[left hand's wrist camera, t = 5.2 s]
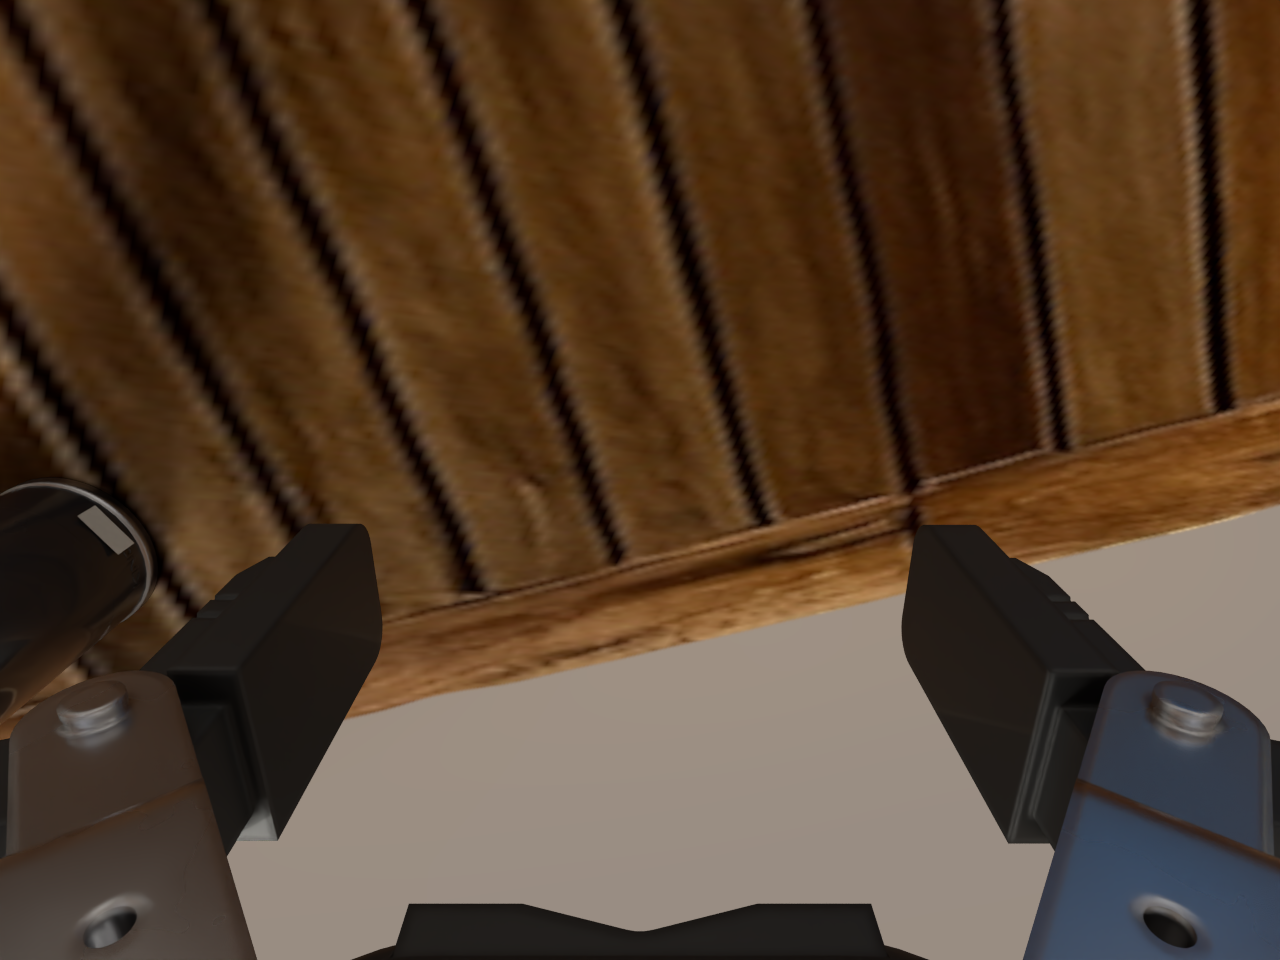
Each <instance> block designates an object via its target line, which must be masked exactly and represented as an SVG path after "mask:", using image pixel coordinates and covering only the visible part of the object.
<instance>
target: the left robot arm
mask: <svg viewBox="0 0 1280 960" xmlns="http://www.w3.org/2000/svg"><path fill="white" fill-rule="evenodd" d="M157 576H158V562H157V556H156V552H155V549H154V546H153V543H152V541H151V539H150V537H149V535H148V533H147V532H146V530H145V528H144V527H143V526H142V524H141V523H140V522H139V520H138V519H137V518H136V517H135V516H134V515H133V514H132V513H131V512H130V510H128V509H127V508H126V507H125V506H124V505H123V504H121V503H120V502H119V501H118V500H116V499H115V498H113V497H112V496H110V495H109V494H107V493H105V492H103V491H101V490H100V489H97V488H95V487H93V486H91V485H88V484H85V483H82V482H79V481H75V480H70V479H64V478H39V479H33V480H30V481H26V482H24V483H21V484H19V485H17V486H15V487H13V488H11V489H9V490H7V491H5V492H3V493H1V494H0V725H1V724H2V723H3V722H4V721H5V720H7V719H8V718H9V717H10V716H11V715H12V714H14V713H15V712H16V711H17V710H18V709H20V708H21V707H22V706H23V705H24V704H25V703H27V702H28V701H29V700H30V699H31V698H32V697H34V696H35V695H36V694H37V693H38V692H39V691H41V690H42V689H43V688H44V687H45V686H46V685H48V684H49V683H50V682H51V681H52V680H53V679H55V678H56V677H57V676H58V675H59V674H60V673H62V672H63V671H64V670H65V669H66V668H67V667H69V666H70V665H71V664H72V663H73V662H74V661H76V660H77V659H78V658H79V657H80V656H81V655H83V654H84V653H85V652H86V651H87V650H88V649H90V648H91V647H92V646H93V645H95V644H96V643H97V642H98V641H99V640H100V639H102V638H103V637H104V636H105V635H106V634H107V633H109V632H110V631H111V630H112V629H113V628H114V627H116V626H117V625H118V624H119V623H121V622H123V621H124V620H126V619H127V618H129V617H130V616H131V615H132V614H133V613H135V612H136V611H137V610H138V609H139V608H140V607H142V606H143V605H144V604H145V603H146V602H147V600H148V599H149V598H150V596H151V594H152V592H153V591H154V588H155V585H156V582H157ZM381 640H382V614H381V608H380V601H379V594H378V588H377V581H376V574H375V568H374V561H373V554H372V548H371V542H370V537H369V534H368V531H367V529H366V528H365V526H364V525H362V524H308V525H306V526H305V527H304V528H303V529H302V530H301V531H300V532H299V533H298V534H297V535H296V536H295V537H294V538H293V539H292V540H291V541H290V542H289V543H288V544H287V545H286V546H285V547H284V548H283V549H282V550H281V551H280V553H279V554H278V555H277V556H276V557H268V558H266V559H264V560H262V561H261V562H259V563H257V564H255V565H253V566H251V567H250V568H248V569H246V570H244V571H242V572H240V573H239V574H237V575H236V576H235V577H234V578H233V579H231V580H230V581H229V582H228V583H227V584H226V585H225V586H224V587H223V588H222V589H221V590H220V591H219V592H218V593H217V594H216V595H215V600H210V601H209V602H208V603H207V604H206V605H205V606H204V607H203V608H202V609H201V610H200V611H199V612H198V613H197V618H192V619H191V620H190V621H189V622H188V623H187V624H186V625H185V626H184V627H183V628H182V629H181V630H180V631H179V632H178V633H177V634H176V635H175V636H174V637H173V638H172V639H171V640H170V641H169V642H167V643H166V644H165V645H164V646H163V647H162V648H161V649H160V650H159V651H158V652H157V653H156V654H155V655H154V656H153V657H152V658H151V659H150V660H149V661H148V662H147V663H146V664H145V665H144V666H143V667H142V668H141V669H140V670H139V671H126V672H118V673H113V674H108V675H104V676H100V677H96V678H93V679H90V680H87V681H84V682H81V683H78V684H76V685H74V686H71V687H69V688H67V689H64V690H62V691H60V692H58V693H57V694H55V695H53V696H51V697H49V698H48V699H46V700H44V701H43V702H41V703H40V704H38V705H37V706H36V707H34V708H33V709H32V710H30V711H29V712H28V713H27V714H26V715H25V716H24V717H23V718H22V719H21V720H20V721H19V722H18V724H17V725H16V726H15V728H14V729H13V731H12V733H11V736H10V738H9V739H4V740H0V960H257V958H256V954H255V951H254V947H253V944H252V941H251V937H250V934H249V931H248V927H247V924H246V920H245V917H244V914H243V910H242V907H241V903H240V900H239V897H238V893H237V890H236V887H235V883H234V880H233V876H232V873H231V870H230V866H229V863H228V860H227V855H228V854H229V852H230V851H231V849H232V847H233V846H234V844H235V842H236V841H277V840H278V839H279V837H280V835H281V834H282V832H283V830H284V828H285V826H286V824H287V823H288V821H289V819H290V817H291V815H292V813H293V811H294V810H295V808H296V806H297V804H298V802H299V801H300V799H301V797H302V795H303V793H304V791H305V789H306V788H307V786H308V784H309V782H310V780H311V779H312V777H313V775H314V773H315V771H316V769H317V768H318V766H319V764H320V762H321V760H322V758H323V757H324V755H325V753H326V751H327V749H328V747H329V746H330V744H331V742H332V740H333V738H334V736H335V735H336V733H337V731H338V729H339V727H340V726H341V724H342V722H343V720H344V718H345V716H346V715H347V713H348V711H349V709H350V707H351V705H352V704H353V702H354V700H355V698H356V696H357V694H358V693H359V691H360V689H361V687H362V685H363V683H364V682H365V680H366V678H367V676H368V674H369V672H370V671H371V669H372V667H373V665H374V663H375V661H376V659H377V657H378V654H379V650H380V646H381ZM902 641H903V647H904V652H905V655H906V658H907V661H908V663H909V665H910V666H911V668H912V670H913V672H914V674H915V676H916V677H917V679H918V681H919V683H920V685H921V686H922V688H923V690H924V692H925V694H926V695H927V697H928V699H929V701H930V702H931V704H932V706H933V708H934V710H935V712H936V713H937V715H938V717H939V719H940V721H941V722H942V724H943V726H944V728H945V730H946V732H947V733H948V735H949V737H950V739H951V741H952V742H953V744H954V746H955V748H956V750H957V751H958V753H959V755H960V757H961V759H962V760H963V762H964V764H965V766H966V768H967V769H968V771H969V773H970V775H971V777H972V779H973V780H974V782H975V784H976V786H977V787H978V789H979V791H980V793H981V795H982V797H983V798H984V800H985V802H986V804H987V806H988V807H989V809H990V811H991V813H992V815H993V817H994V818H995V820H996V822H997V824H998V826H999V827H1000V829H1001V831H1002V833H1003V835H1004V836H1005V838H1006V840H1007V842H1008V843H1050V844H1051V846H1052V848H1053V849H1054V851H1055V853H1054V856H1053V860H1052V863H1051V866H1050V870H1049V873H1048V876H1047V880H1046V883H1045V887H1044V890H1043V893H1042V897H1041V900H1040V903H1039V907H1038V910H1037V914H1036V917H1035V920H1034V924H1033V927H1032V931H1031V934H1030V937H1029V941H1028V944H1027V947H1026V951H1025V954H1024V958H1023V960H1280V741H1276V740H1271V739H1270V736H1269V733H1268V731H1267V730H1266V728H1265V726H1264V725H1263V724H1262V722H1261V721H1260V720H1259V719H1258V718H1257V717H1256V716H1255V715H1254V714H1253V713H1252V712H1251V711H1250V710H1248V709H1247V708H1246V707H1244V706H1243V705H1242V704H1240V703H1239V702H1237V701H1236V700H1234V699H1232V698H1231V697H1229V696H1227V695H1225V694H1223V693H1222V692H1220V691H1218V690H1216V689H1213V688H1211V687H1209V686H1206V685H1204V684H1202V683H1199V682H1196V681H1193V680H1190V679H1187V678H1184V677H1180V676H1176V675H1172V674H1167V673H1162V672H1154V671H1145V670H1144V669H1143V668H1142V667H1141V666H1140V665H1139V664H1138V663H1137V662H1136V661H1135V660H1134V659H1133V658H1132V657H1131V656H1130V655H1129V654H1128V653H1127V652H1126V651H1125V650H1124V649H1123V648H1122V647H1121V646H1120V645H1119V644H1118V643H1117V642H1116V641H1115V640H1114V639H1113V638H1112V637H1111V636H1110V635H1109V634H1108V633H1106V631H1105V630H1103V629H1102V628H1101V627H1100V626H1099V625H1098V624H1097V623H1096V622H1095V621H1094V620H1089V615H1088V614H1087V613H1086V612H1085V611H1084V610H1083V609H1082V608H1081V607H1080V606H1079V605H1078V604H1077V603H1076V602H1071V601H1070V596H1069V595H1068V594H1067V593H1066V592H1064V591H1063V590H1062V589H1061V588H1060V587H1059V586H1058V585H1057V584H1056V583H1055V582H1054V581H1053V580H1052V579H1051V578H1050V577H1049V576H1048V575H1046V574H1044V573H1042V572H1040V571H1038V570H1037V569H1035V568H1033V567H1031V566H1029V565H1027V564H1026V563H1024V562H1022V561H1020V560H1018V559H1016V558H1009V557H1008V556H1007V555H1006V554H1005V553H1004V552H1003V551H1002V550H1001V549H1000V548H999V547H998V546H997V545H996V543H995V542H994V541H993V540H992V539H991V538H990V537H989V536H988V535H987V534H986V533H985V532H984V531H983V530H982V529H981V528H980V527H979V526H976V525H922V526H921V527H920V528H919V529H918V531H917V533H916V535H915V539H914V544H913V550H912V556H911V563H910V570H909V576H908V583H907V589H906V596H905V603H904V609H903V615H902ZM352 960H928V959H925V958H922V957H920V956H917V955H914V954H911V953H908V952H906V951H903V950H900V949H897V948H893V947H889V946H885V945H884V943H883V940H882V937H881V934H880V931H879V927H878V924H877V921H876V918H875V915H874V912H873V909H872V905H871V904H755V905H751V906H747V907H743V908H739V909H735V910H731V911H727V912H723V913H719V914H715V915H711V916H707V917H703V918H699V919H695V920H691V921H687V922H683V923H679V924H675V925H671V926H667V927H663V928H659V929H655V930H650V931H630V930H625V929H621V928H617V927H613V926H609V925H605V924H601V923H597V922H593V921H589V920H585V919H581V918H577V917H573V916H569V915H565V914H561V913H557V912H553V911H549V910H545V909H541V908H537V907H533V906H529V905H525V904H409V905H408V909H407V912H406V915H405V918H404V921H403V924H402V927H401V931H400V934H399V937H398V940H397V943H396V945H395V946H391V947H387V948H383V949H380V950H377V951H374V952H372V953H369V954H366V955H363V956H361V957H358V958H355V959H352Z"/></svg>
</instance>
